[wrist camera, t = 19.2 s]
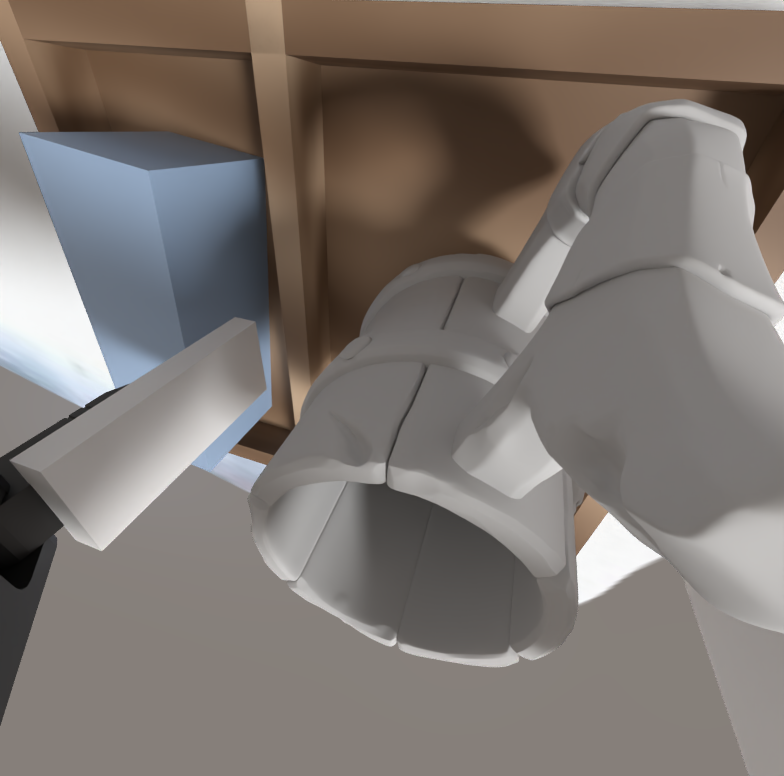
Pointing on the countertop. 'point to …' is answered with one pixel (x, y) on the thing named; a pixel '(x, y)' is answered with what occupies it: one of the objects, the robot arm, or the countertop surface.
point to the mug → (551, 411)
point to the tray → (393, 128)
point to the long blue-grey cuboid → (160, 246)
